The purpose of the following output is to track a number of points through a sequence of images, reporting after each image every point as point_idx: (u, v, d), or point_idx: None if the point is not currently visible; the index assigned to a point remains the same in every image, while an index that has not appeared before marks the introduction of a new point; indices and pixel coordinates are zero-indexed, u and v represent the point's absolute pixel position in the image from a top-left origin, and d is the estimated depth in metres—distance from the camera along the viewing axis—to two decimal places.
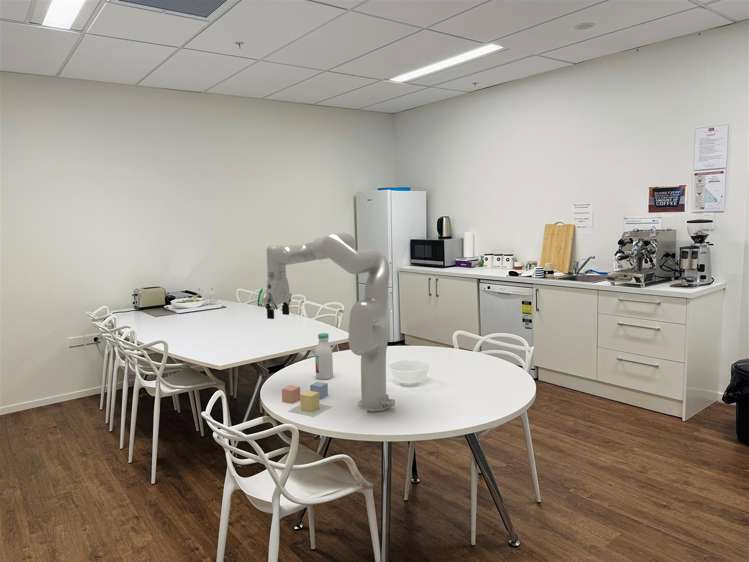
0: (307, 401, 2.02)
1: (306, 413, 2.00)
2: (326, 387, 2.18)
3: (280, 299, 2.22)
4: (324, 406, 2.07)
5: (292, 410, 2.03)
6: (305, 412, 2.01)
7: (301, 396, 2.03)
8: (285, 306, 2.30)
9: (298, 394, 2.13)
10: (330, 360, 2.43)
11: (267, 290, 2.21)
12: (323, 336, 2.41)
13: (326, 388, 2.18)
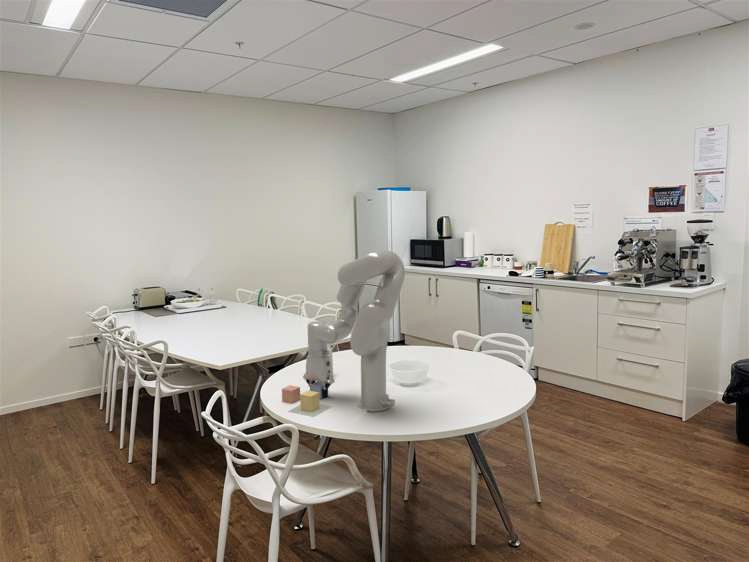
0: (307, 401, 2.02)
1: (306, 413, 2.00)
2: None
3: None
4: (324, 406, 2.07)
5: (292, 410, 2.03)
6: (305, 412, 2.01)
7: (301, 396, 2.03)
8: None
9: (298, 394, 2.13)
10: (330, 360, 2.43)
11: (326, 368, 2.13)
12: None
13: None
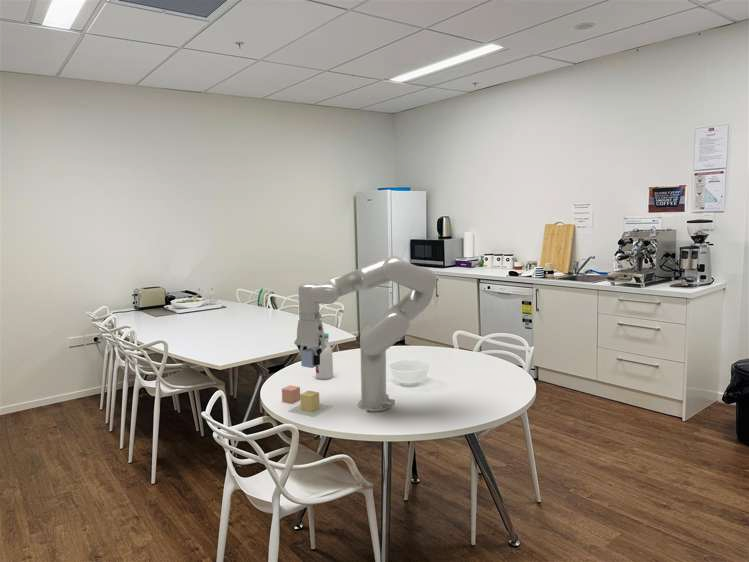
0: (307, 401, 2.02)
1: (306, 413, 2.00)
2: None
3: None
4: (324, 406, 2.07)
5: (292, 410, 2.03)
6: (305, 412, 2.01)
7: (301, 396, 2.03)
8: None
9: (298, 394, 2.13)
10: (330, 360, 2.43)
11: (318, 333, 2.01)
12: None
13: None
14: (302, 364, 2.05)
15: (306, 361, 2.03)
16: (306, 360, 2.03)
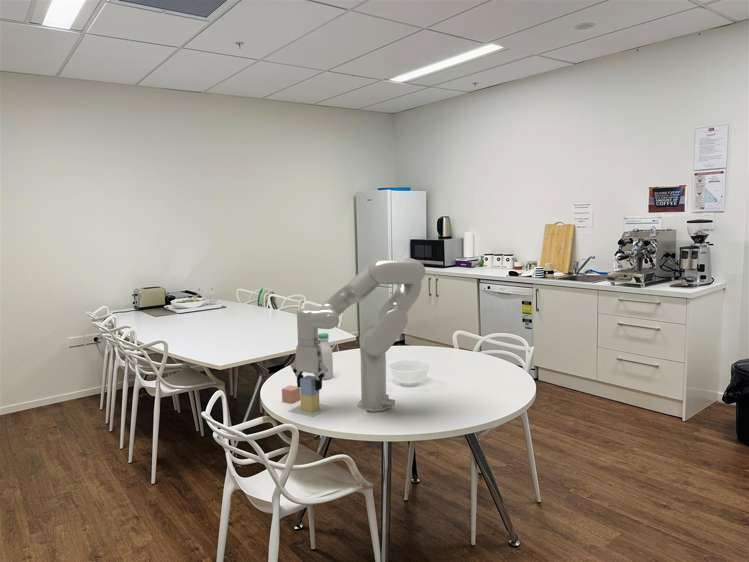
0: (307, 401, 2.02)
1: (306, 413, 2.00)
2: None
3: None
4: (324, 406, 2.07)
5: (292, 410, 2.03)
6: (305, 412, 2.01)
7: (301, 396, 2.03)
8: (301, 377, 2.05)
9: (298, 394, 2.13)
10: (330, 360, 2.43)
11: (317, 358, 1.99)
12: (323, 336, 2.41)
13: None
14: (301, 392, 2.02)
15: (305, 390, 2.01)
16: (305, 389, 2.01)
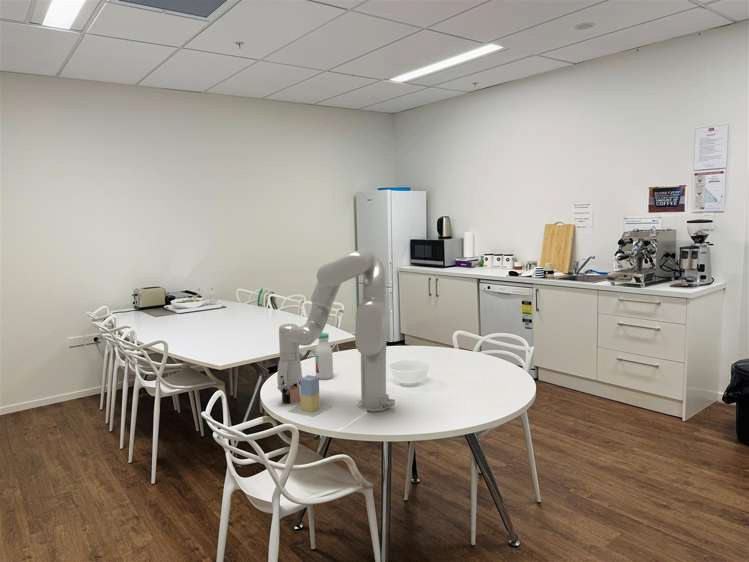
0: (307, 401, 2.02)
1: (306, 413, 2.00)
2: (317, 381, 2.03)
3: None
4: (324, 406, 2.07)
5: (292, 410, 2.03)
6: (305, 412, 2.01)
7: (301, 396, 2.03)
8: None
9: (298, 394, 2.13)
10: (330, 360, 2.43)
11: None
12: (323, 336, 2.41)
13: (317, 382, 2.03)
14: (301, 392, 2.02)
15: (305, 390, 2.01)
16: (305, 389, 2.01)
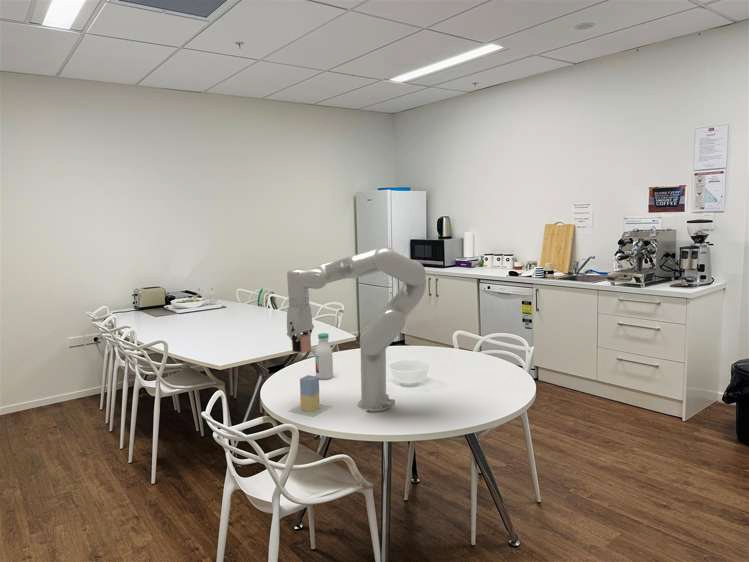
0: (307, 401, 2.02)
1: (306, 413, 2.00)
2: (317, 381, 2.03)
3: None
4: (324, 406, 2.07)
5: (292, 410, 2.03)
6: (305, 412, 2.01)
7: (301, 396, 2.03)
8: None
9: (308, 342, 2.05)
10: (330, 360, 2.43)
11: None
12: (323, 336, 2.41)
13: (317, 382, 2.03)
14: (301, 392, 2.02)
15: (305, 390, 2.01)
16: (305, 389, 2.01)
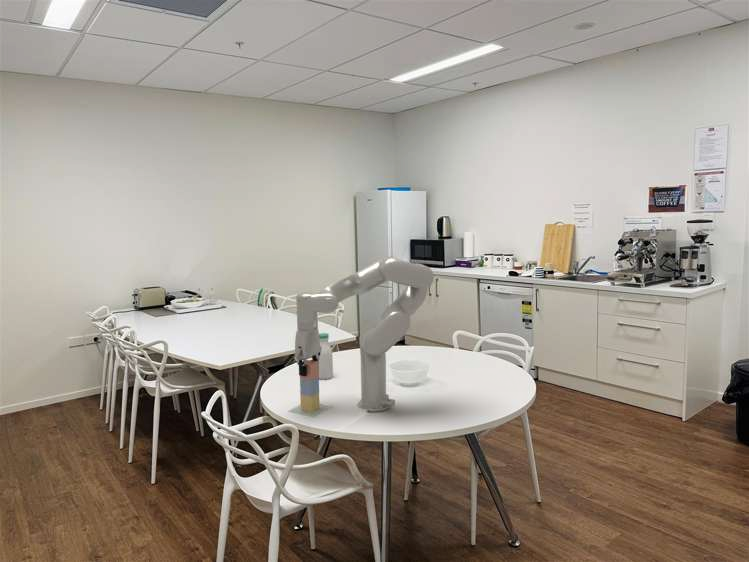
0: (307, 401, 2.02)
1: (306, 413, 2.00)
2: (317, 381, 2.03)
3: None
4: (324, 406, 2.07)
5: (292, 410, 2.03)
6: (305, 412, 2.01)
7: (301, 396, 2.03)
8: None
9: (316, 368, 2.02)
10: (330, 360, 2.43)
11: None
12: (323, 336, 2.41)
13: (317, 382, 2.03)
14: (301, 392, 2.02)
15: (305, 390, 2.01)
16: (305, 389, 2.01)
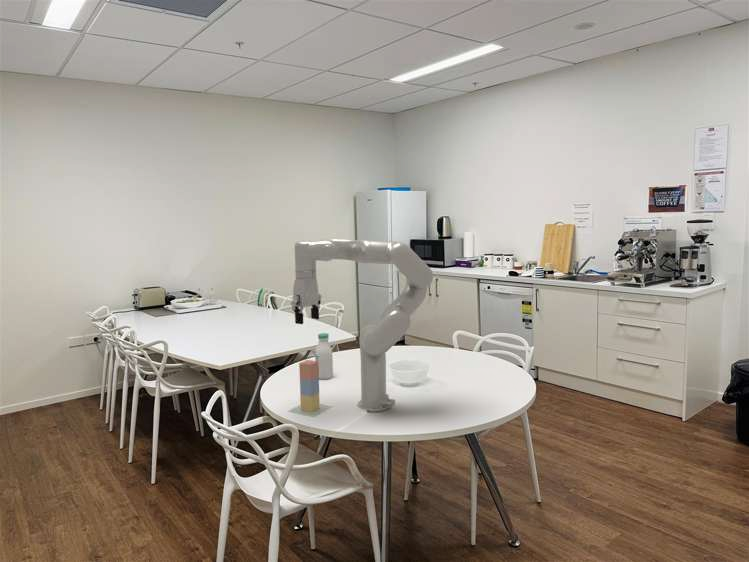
0: (307, 401, 2.02)
1: (306, 413, 2.00)
2: (317, 381, 2.03)
3: None
4: (324, 406, 2.07)
5: (292, 410, 2.03)
6: (305, 412, 2.01)
7: (301, 396, 2.03)
8: None
9: (316, 368, 2.02)
10: (330, 360, 2.43)
11: None
12: (323, 336, 2.41)
13: (317, 382, 2.03)
14: (301, 392, 2.02)
15: (305, 390, 2.01)
16: (305, 389, 2.01)
